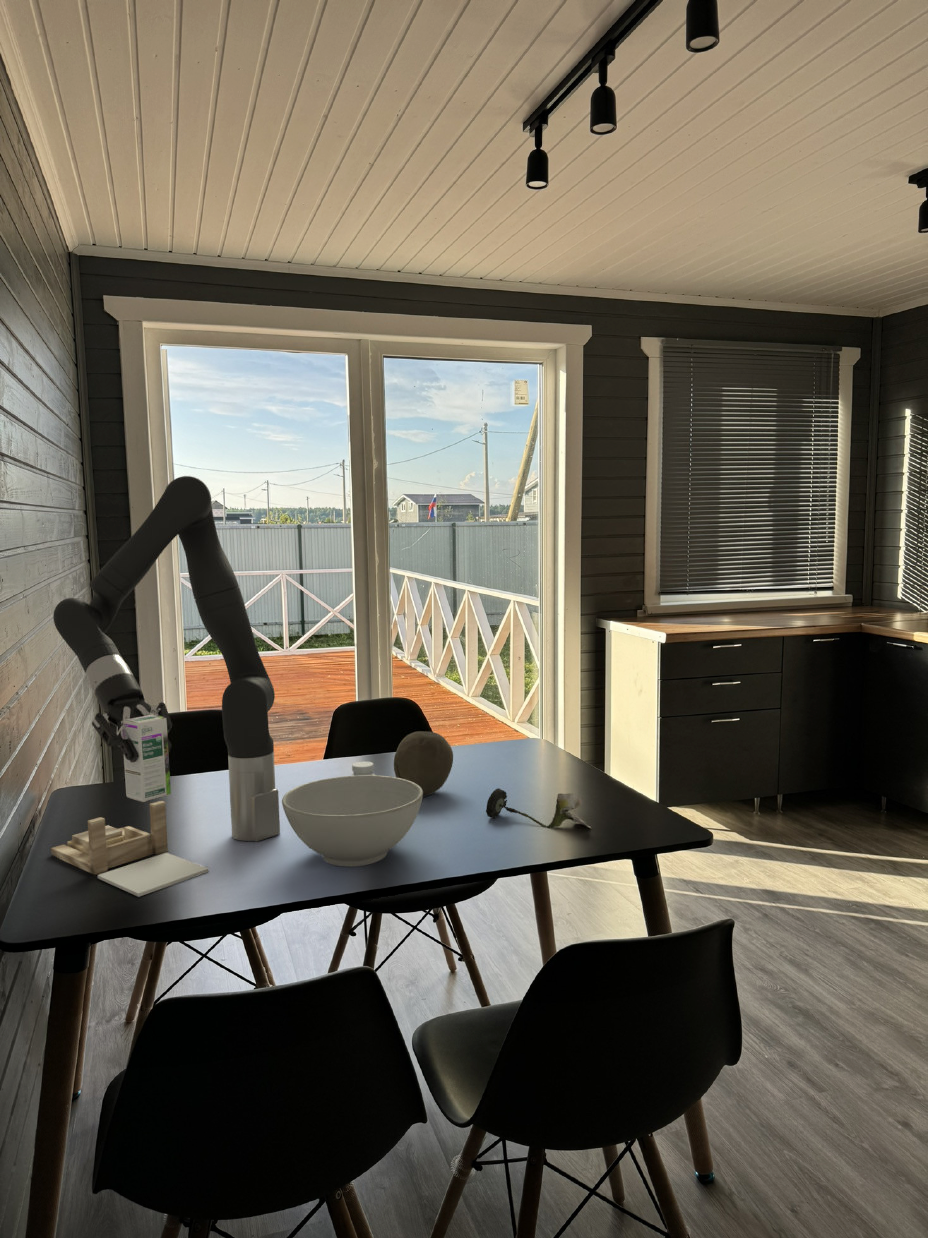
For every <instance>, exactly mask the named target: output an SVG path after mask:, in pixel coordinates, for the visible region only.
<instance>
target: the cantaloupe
mask: <svg viewBox="0 0 928 1238" xmlns="http://www.w3.org/2000/svg"><path fill="white" fill-rule="evenodd" d="M452 748H453V747H452V746H451V744H450V742H449V741H447V740H446V738H445V737H443V735H441V734H440V733H437V732H433V731H420V730H419V731H414V732H411V733H409V734H407V735H405V737H404V738H402V740H401V741H400V743H399V744H398V747H397V749H396V751H395V754H394V758H393V770H394V771H393V772H394V775H395V777H396V778H401V779H405V780H408V781H411V782H414V783H415V784H417V785H419V786H420V787H421V789H422V791H423V797H427V796H430V795H431V794H434V793H436V792H438V791H439V790H440V789H441V788H442V787H443V786H444V784H445V783H446V782H447V780H448V778H449V775H450V774H451V770H452V768H453V764H454V752H453V749H452Z"/></svg>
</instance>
